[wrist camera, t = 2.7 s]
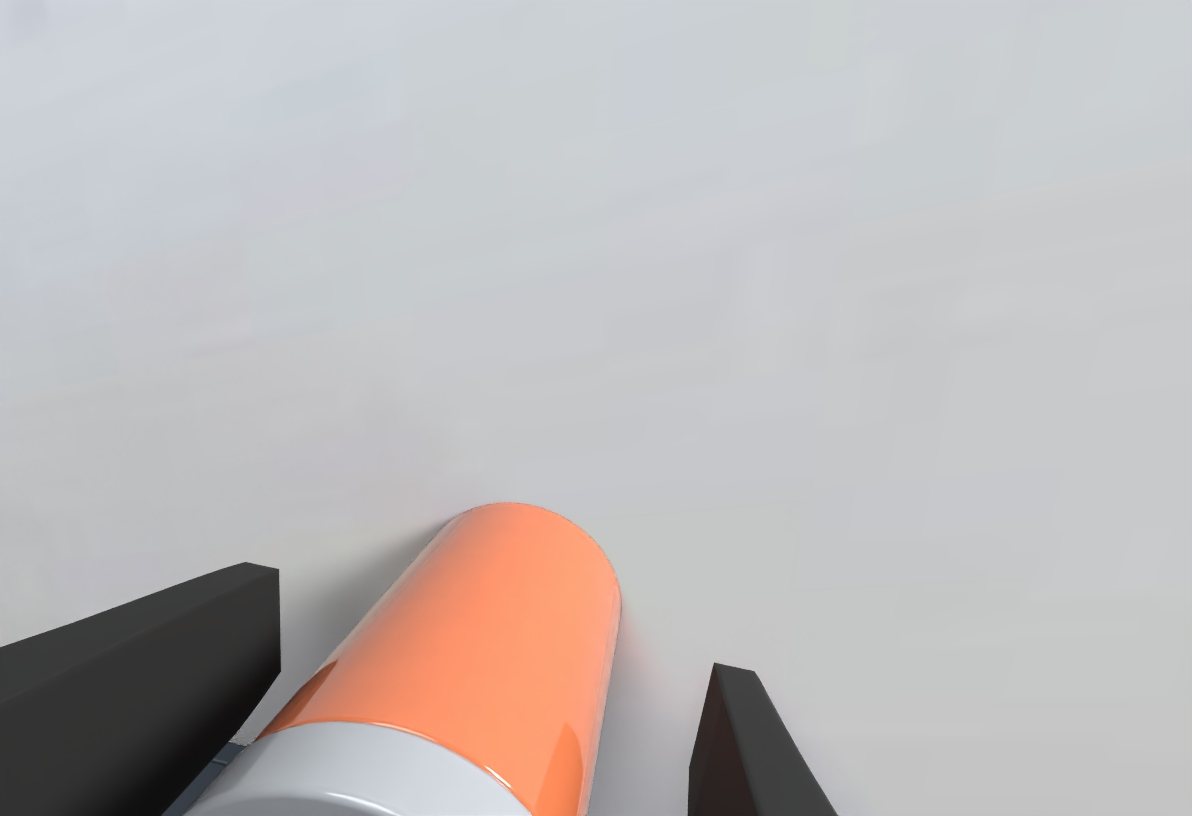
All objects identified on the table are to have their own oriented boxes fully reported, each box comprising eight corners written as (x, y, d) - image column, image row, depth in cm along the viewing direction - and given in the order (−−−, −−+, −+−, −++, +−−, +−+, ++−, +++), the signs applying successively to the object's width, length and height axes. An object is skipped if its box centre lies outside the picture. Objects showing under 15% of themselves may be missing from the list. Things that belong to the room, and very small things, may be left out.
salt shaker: (639, 521, 10) (588, 862, 4) (606, 705, 11) (533, 1166, 6) (423, 480, 11) (122, 741, 5) (412, 661, 12) (157, 1047, 6)
